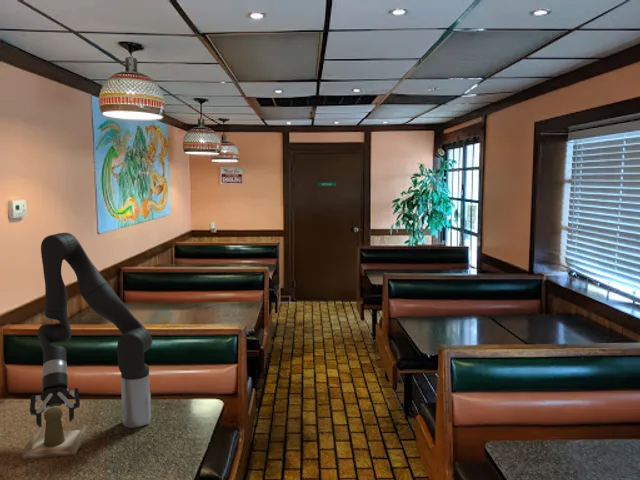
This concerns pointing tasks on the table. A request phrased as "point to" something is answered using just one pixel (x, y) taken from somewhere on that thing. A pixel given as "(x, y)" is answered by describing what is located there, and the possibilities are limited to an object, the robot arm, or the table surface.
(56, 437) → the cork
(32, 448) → the beige square tray
